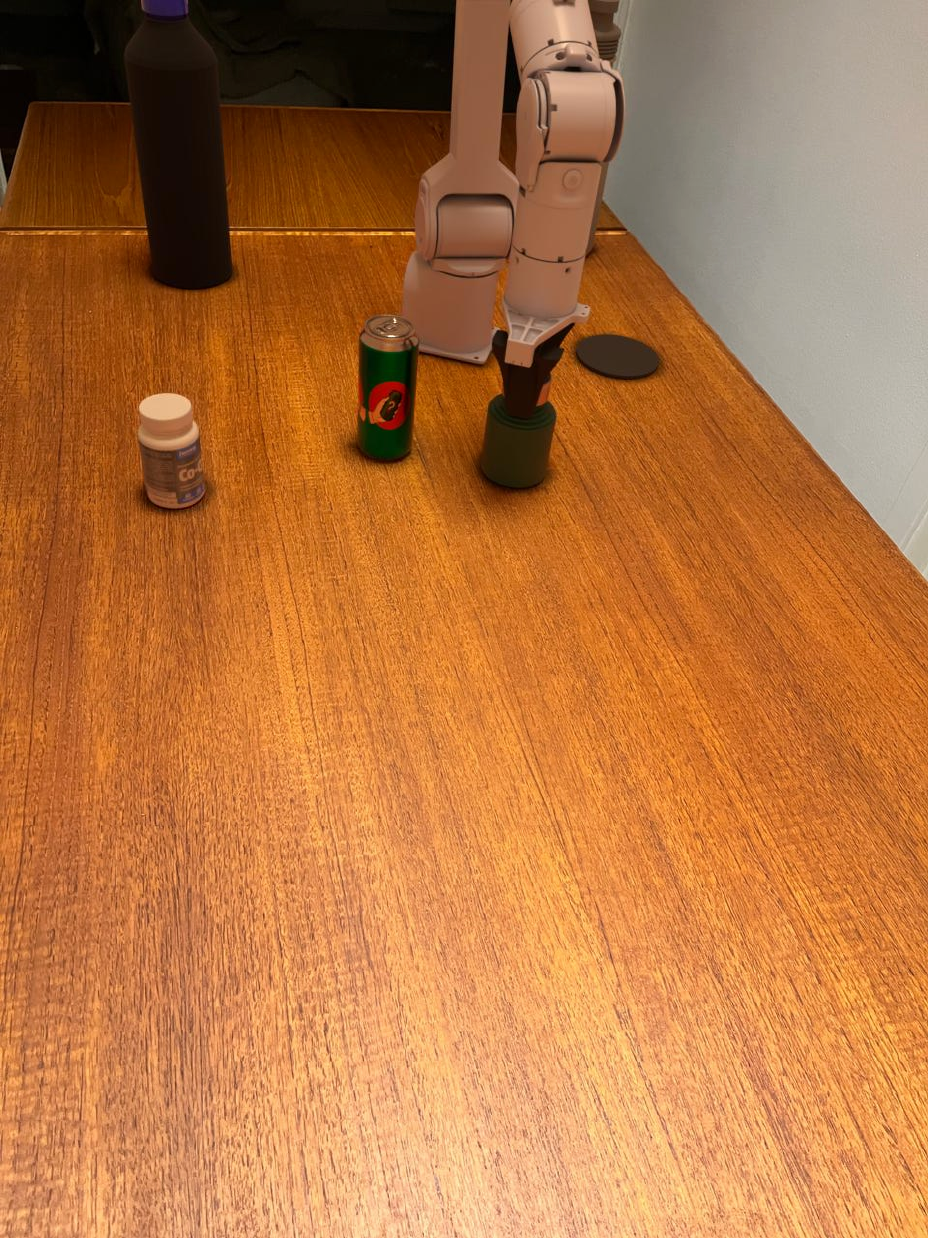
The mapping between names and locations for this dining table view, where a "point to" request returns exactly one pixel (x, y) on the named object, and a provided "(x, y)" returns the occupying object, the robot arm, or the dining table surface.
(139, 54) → the bottle
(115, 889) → the dining table surface
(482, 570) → the dining table surface
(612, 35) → the water bottle
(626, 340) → the coaster
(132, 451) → the dining table surface
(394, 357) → the soda can
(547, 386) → the cap
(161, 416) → the pill bottle
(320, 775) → the dining table surface
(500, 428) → the green bottle
